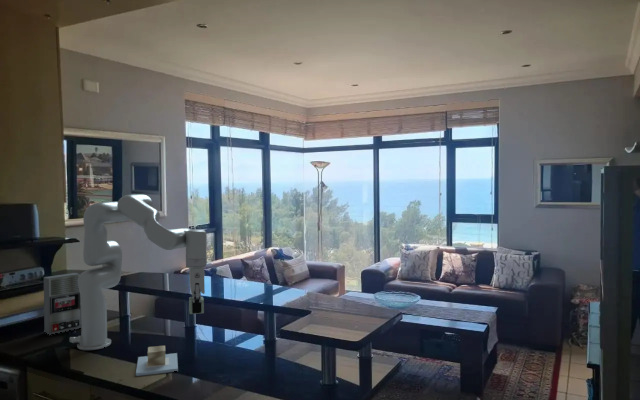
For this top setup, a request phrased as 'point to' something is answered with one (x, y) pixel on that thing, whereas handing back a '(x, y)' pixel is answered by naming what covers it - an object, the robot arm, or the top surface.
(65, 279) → the cassette tape recorder
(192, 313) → the sage block
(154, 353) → the birch block
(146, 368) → the board
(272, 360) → the top surface
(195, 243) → the robot arm
